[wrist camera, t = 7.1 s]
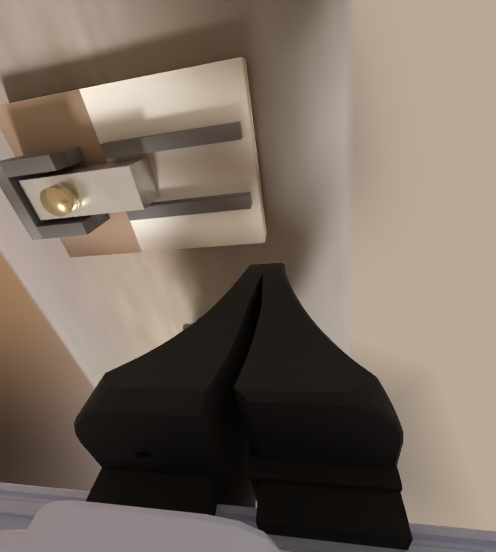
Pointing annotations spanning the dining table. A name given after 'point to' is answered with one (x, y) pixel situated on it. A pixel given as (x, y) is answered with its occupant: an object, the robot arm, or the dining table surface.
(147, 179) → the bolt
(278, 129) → the dining table surface
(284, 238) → the dining table surface
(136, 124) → the door and jamb
